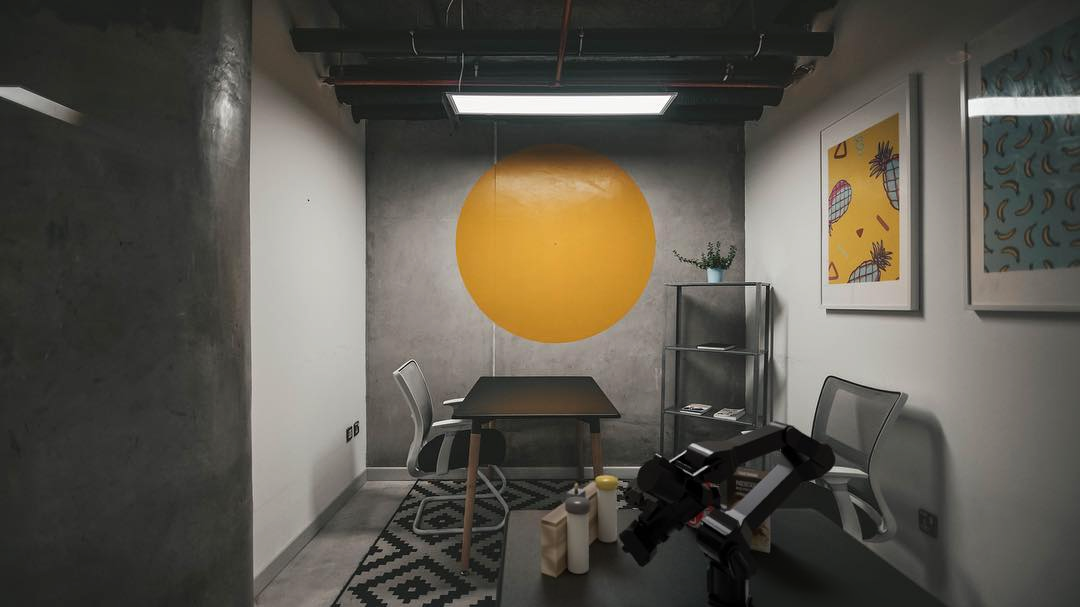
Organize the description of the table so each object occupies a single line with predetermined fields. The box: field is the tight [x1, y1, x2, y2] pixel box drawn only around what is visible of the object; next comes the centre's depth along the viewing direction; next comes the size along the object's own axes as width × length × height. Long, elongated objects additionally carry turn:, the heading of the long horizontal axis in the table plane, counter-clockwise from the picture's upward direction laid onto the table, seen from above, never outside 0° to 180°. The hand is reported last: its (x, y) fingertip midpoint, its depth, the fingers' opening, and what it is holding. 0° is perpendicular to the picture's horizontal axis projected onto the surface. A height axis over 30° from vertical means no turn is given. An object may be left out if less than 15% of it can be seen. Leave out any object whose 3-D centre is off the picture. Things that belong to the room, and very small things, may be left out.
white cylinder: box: [595, 475, 619, 543], centre depth 106 cm, size 5×5×14 cm
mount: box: [540, 481, 598, 578], centre depth 102 cm, size 4×24×11 cm, turn 147°
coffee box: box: [726, 466, 771, 554], centre depth 104 cm, size 9×6×16 cm
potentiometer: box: [566, 483, 586, 499], centre depth 102 cm, size 3×4×4 cm
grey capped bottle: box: [564, 497, 590, 575], centre depth 94 cm, size 5×5×14 cm
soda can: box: [686, 482, 714, 529], centre depth 113 cm, size 7×7×12 cm
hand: (624, 549), depth 89 cm, fingers closed
